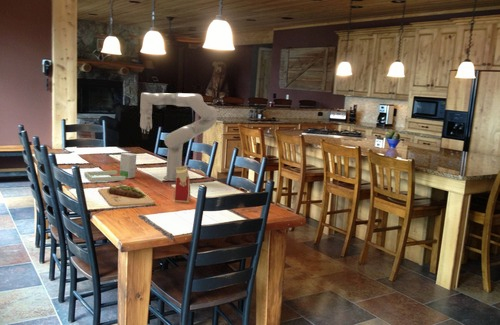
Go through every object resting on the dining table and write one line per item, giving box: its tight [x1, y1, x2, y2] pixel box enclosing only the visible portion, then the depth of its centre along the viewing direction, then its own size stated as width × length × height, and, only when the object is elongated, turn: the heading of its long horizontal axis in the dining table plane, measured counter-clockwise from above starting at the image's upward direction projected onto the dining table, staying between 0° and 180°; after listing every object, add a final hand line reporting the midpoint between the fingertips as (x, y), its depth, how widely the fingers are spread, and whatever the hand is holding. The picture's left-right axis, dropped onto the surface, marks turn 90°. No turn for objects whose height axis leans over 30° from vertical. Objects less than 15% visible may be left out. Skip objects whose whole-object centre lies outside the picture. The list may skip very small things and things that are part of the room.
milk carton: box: [172, 165, 191, 203], centre depth 257 cm, size 9×9×20 cm
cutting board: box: [97, 181, 155, 208], centre depth 255 cm, size 35×23×8 cm
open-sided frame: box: [84, 170, 126, 183], centre depth 296 cm, size 18×21×2 cm
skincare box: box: [119, 152, 137, 179], centre depth 303 cm, size 8×7×16 cm
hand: (145, 139), depth 306 cm, fingers closed
